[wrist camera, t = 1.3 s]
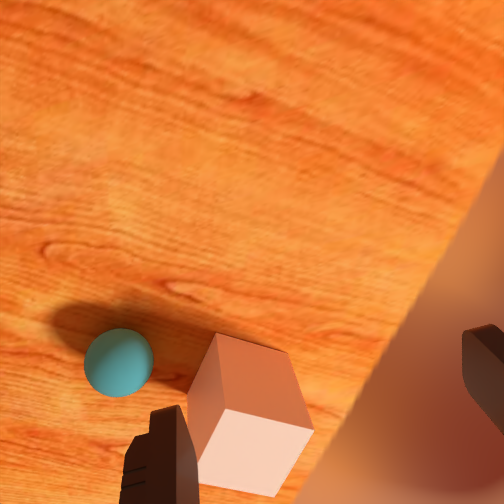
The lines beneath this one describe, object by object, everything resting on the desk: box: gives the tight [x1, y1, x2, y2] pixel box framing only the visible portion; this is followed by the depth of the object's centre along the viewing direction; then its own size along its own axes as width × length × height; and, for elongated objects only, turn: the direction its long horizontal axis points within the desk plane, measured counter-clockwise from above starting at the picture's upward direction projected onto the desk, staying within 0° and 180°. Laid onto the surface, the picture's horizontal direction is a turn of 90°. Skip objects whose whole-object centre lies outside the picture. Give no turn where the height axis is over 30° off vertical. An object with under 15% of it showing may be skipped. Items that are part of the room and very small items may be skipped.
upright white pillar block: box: [187, 333, 315, 497], centre depth 36 cm, size 7×7×9 cm
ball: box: [84, 328, 154, 397], centre depth 35 cm, size 5×5×5 cm
